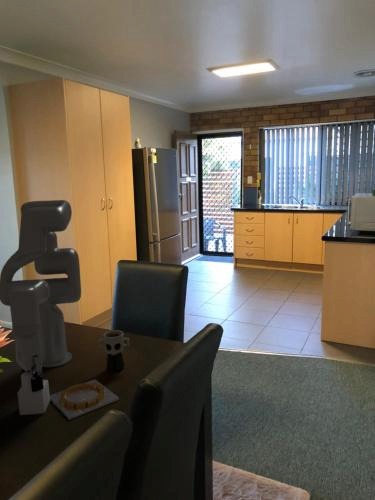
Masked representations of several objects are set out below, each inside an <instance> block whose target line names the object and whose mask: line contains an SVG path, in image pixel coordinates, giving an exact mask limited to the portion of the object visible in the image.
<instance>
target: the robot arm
mask: <svg viewBox="0 0 375 500" xmlns="http://www.w3.org/2000/svg"><path fill="white" fill-rule="evenodd" d="M72 213H73V211H72V206H71V204H70V202H69V201H68V200H66V199H65V200H64V199H59V200H58V199H56V200H55V199H54V200H53V199H52V200H33V201H28V202H24V203H23V204H22V205H21V206H20V214H21V216H20V226H19V236H18V238H19V239H18V249H17V250H16V251H14V253H13V254H12V255H11V256H9V258H8V259H7V260H6V262H5V263H4V265H3V266H2V269H1V270H0V302H1V304H2V305H4V306H7V307H9V309H10V316H11V326H12V327H11V328H12V336H13V338H14V346H15V347H14V348H15V361H16V363H17V365H18V366H19V367H20V368H21V369H20V370H21V371H20V372H21V373H22V372H23V371H28V370H30V374H31V377H32V379H31V388H32V392H36V391H39V390H42V389H43V388H44V387H43V380H44V377H43V378H42V372H43V368H55V367H60V366H63V365H65V364H67V363H69V362H70V361H71V360H72V353H71V352H69V351H68V350H67V338H66V327H65V317H64V313H63V311H62V309H61V308H60V307H59V306H58V305H64V304H74V303H77V302H79V301H80V299H81V297H82V281H81V269H80V268H81V267H80V265H81V264H80V257H79V254H78V252H77V250H76V249H74V248H71V247H64V248H59V247H58V235H57V233H59V232H60V233H61V232H64V231H66V229H67V228H68V226H69V224H70V222H71V219H72ZM31 263H33V264H34V265H33V266H34V270H35V272H36V274H38V275H41V276H42V275H43V276H49V275H54V276H55V275H65V276H67V277H55V278H54V277H53V278H42V279H41V278H40V279H39V278H37V279H35V278H34V279H22V280H21V279H20V280H13V278H14V277H15V274H16V273H17V272H18V271H19V270H20V269H22V268H23V267H25V266H27V265H29V264H31ZM33 370H36V372H35V373H33Z"/></svg>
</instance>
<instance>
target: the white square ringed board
mask: <svg viewBox="0 0 375 500" xmlns="http://www.w3.org/2000/svg"><path fill="white" fill-rule="evenodd" d="M119 400H120V399H119V396H118V395H116V394H115V393H113V392H112V391H111V390H110V389H108V388H107V387H106V386H105V385H103V384H102V383H100V381H98V380H97V379H96V378H95V379H92V380H89V381H86V382H82V383H81V382H80V383H77V384H75V385H72V386H71V385H70V386H69V387H67V388H66V389H63V390H60V391H57V392H55V393H52V394H50V402H51V404H53V405H54V407H56V408H57V409H58V411H60V412H61V413H62V415H63V416H64V417H66V418H67V420H68V421H70V420H72V419H75V418H78V417H80V416H83V415H85V414H88V413H90V412H92V411H95V410H98V409H101V408H102V407H105V406H107V405H110V404H112V403H115V402H117V401H119Z"/></svg>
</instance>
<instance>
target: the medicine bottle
mask: <svg viewBox="0 0 375 500" xmlns="http://www.w3.org/2000/svg"><path fill="white" fill-rule="evenodd" d="M35 372H36V370H33V373H35ZM42 378H43V387H44V388H43V389H42V390H39V391H36V392H32V388H31V379H32V377H31V374H30V370H28V371H23V372H22V371H21V373H20V381H21V382H20V383H21V387H20V388H19V390H18V392H17V394H16V395H17V403H18V409H19V410H18V411H19V415H20V416H27V415H40V414H41V415H43V414H45V412H46V411H47V408H48V407H49V405H50V402H51V401H50V395H51V394H50V386H49V380H48V379H44V372H43V371H42Z"/></svg>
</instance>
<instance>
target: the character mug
mask: <svg viewBox="0 0 375 500" xmlns="http://www.w3.org/2000/svg"><path fill="white" fill-rule="evenodd" d="M124 336H125V335H124V332H123V331H122V330H118V329H117V330H110V331H109V330H108V331H105V332H104V333H103V334H102V337H103V338H101V339H98V340H97V341H98V342H97V343H98V344H97V345H98V348H99V349H104V352H105V353H106V354H107V355H106V356H107V357H106V369H107V370H108V371H111V372H112V371H114V369H115V371H120V370H122V369H124V367H125V362H124V361H125V360H124V356H123V353H122V352H123V351H125V347H130V337H124ZM125 341H126V343H125ZM102 343H103V344H102Z"/></svg>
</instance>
